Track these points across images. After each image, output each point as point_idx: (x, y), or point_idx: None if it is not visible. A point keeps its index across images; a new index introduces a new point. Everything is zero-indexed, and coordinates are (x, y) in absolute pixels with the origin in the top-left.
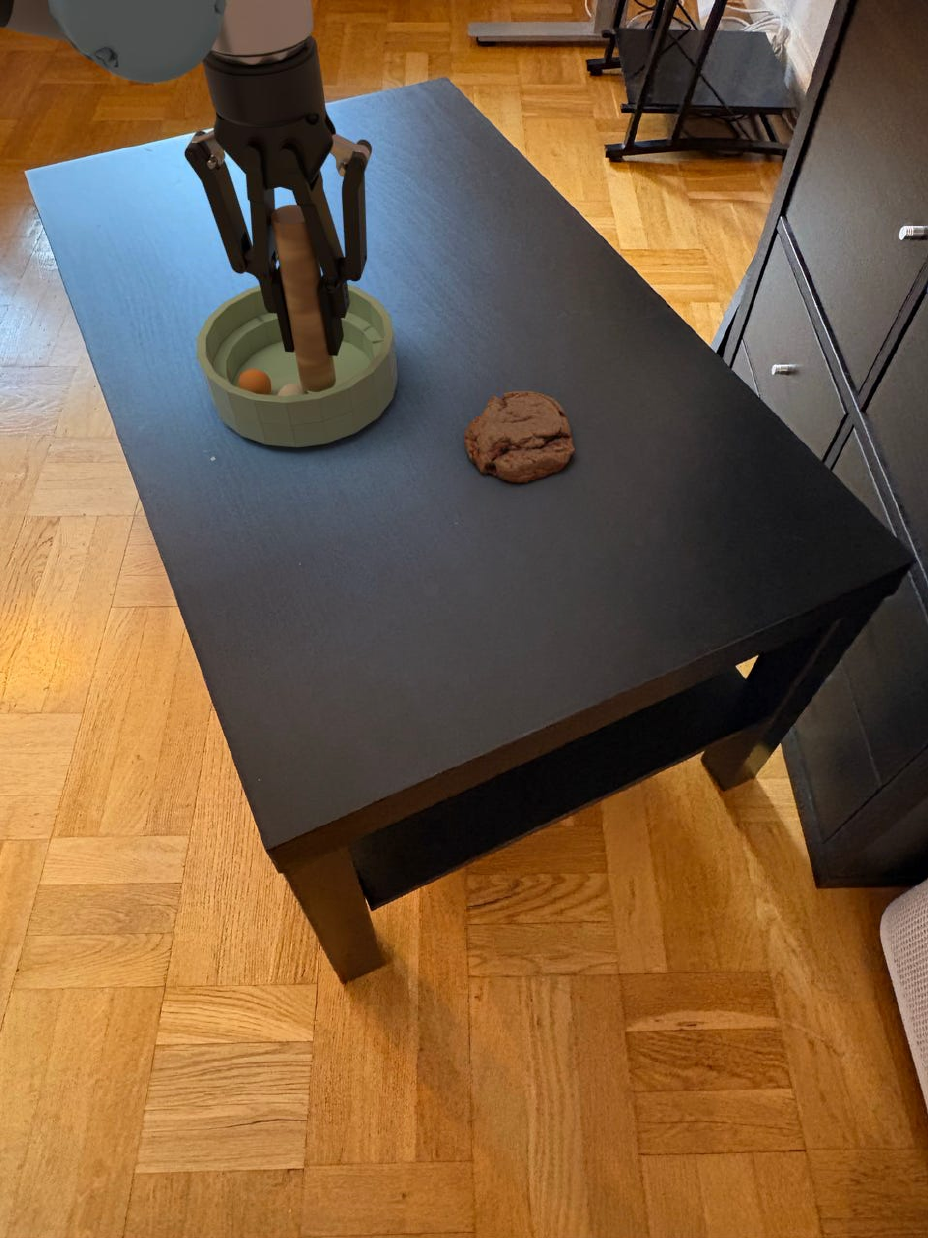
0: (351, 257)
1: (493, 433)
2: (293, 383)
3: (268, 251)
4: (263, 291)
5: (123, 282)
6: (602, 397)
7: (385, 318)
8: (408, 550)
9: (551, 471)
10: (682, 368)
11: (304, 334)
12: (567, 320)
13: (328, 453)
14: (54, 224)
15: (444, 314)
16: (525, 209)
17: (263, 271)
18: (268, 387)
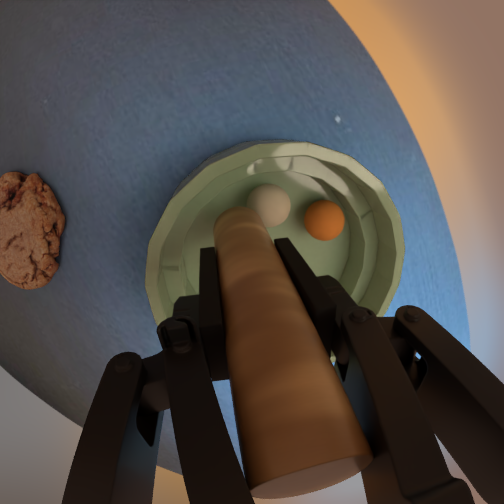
0: (115, 401)
1: (19, 211)
2: (273, 222)
3: (360, 368)
4: (346, 298)
5: (442, 324)
6: (4, 302)
7: None
8: (81, 49)
9: None
10: None
11: (250, 249)
12: (70, 380)
13: (206, 151)
14: (470, 350)
15: None
16: (164, 457)
17: (359, 324)
18: (306, 218)
